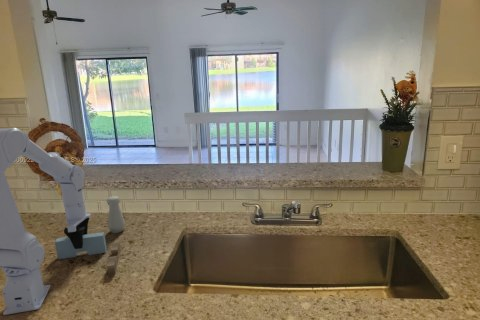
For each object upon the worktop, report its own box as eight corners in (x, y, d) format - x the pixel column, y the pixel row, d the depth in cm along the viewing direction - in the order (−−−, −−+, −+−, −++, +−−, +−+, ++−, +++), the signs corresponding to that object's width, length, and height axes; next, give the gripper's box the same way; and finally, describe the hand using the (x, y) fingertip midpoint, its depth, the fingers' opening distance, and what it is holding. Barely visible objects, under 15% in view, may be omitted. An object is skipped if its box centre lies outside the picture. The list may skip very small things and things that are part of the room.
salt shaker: (105, 232, 122) (100, 198, 118) (117, 226, 126) (113, 193, 123) (117, 235, 119) (112, 201, 116) (129, 228, 124) (124, 195, 120)
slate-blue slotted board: (105, 252, 108) (103, 235, 106) (58, 259, 105) (54, 241, 103) (106, 248, 110) (104, 232, 109) (60, 255, 107) (56, 238, 106)
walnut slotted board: (115, 274, 96) (114, 265, 95) (108, 275, 95) (106, 266, 95) (120, 250, 109) (119, 241, 108) (113, 250, 109) (112, 242, 108)
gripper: (83, 210, 97) (90, 252, 101) (92, 193, 111) (98, 230, 114) (56, 213, 95) (64, 256, 99) (69, 195, 109) (75, 233, 113)
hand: (81, 242), depth 106 cm, fingers open, 6 cm apart
